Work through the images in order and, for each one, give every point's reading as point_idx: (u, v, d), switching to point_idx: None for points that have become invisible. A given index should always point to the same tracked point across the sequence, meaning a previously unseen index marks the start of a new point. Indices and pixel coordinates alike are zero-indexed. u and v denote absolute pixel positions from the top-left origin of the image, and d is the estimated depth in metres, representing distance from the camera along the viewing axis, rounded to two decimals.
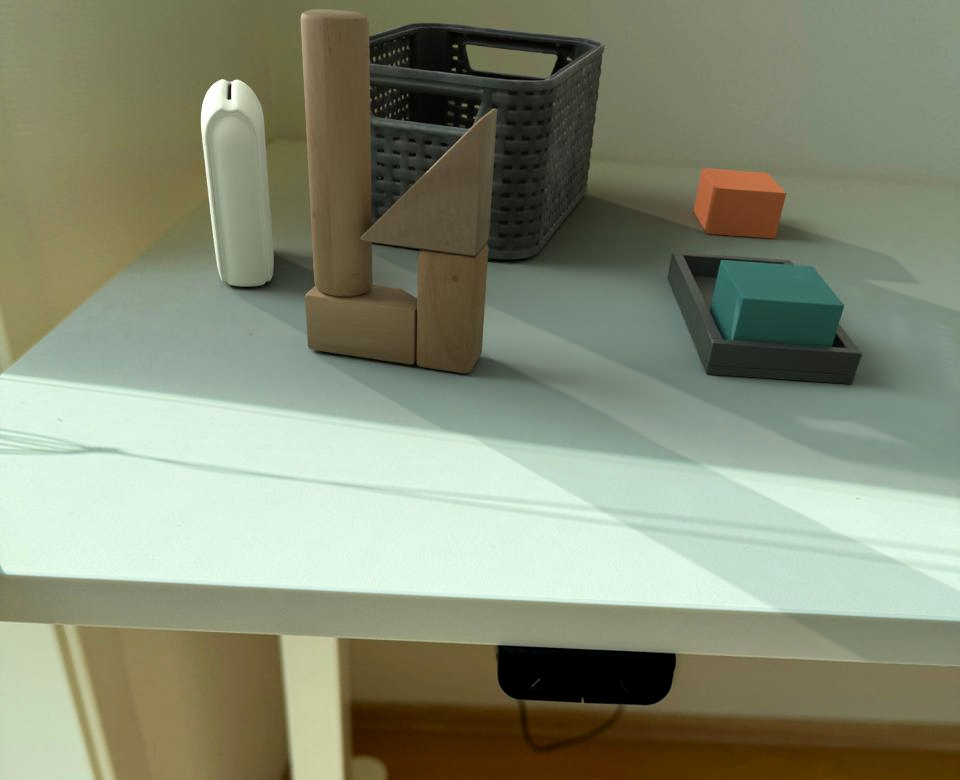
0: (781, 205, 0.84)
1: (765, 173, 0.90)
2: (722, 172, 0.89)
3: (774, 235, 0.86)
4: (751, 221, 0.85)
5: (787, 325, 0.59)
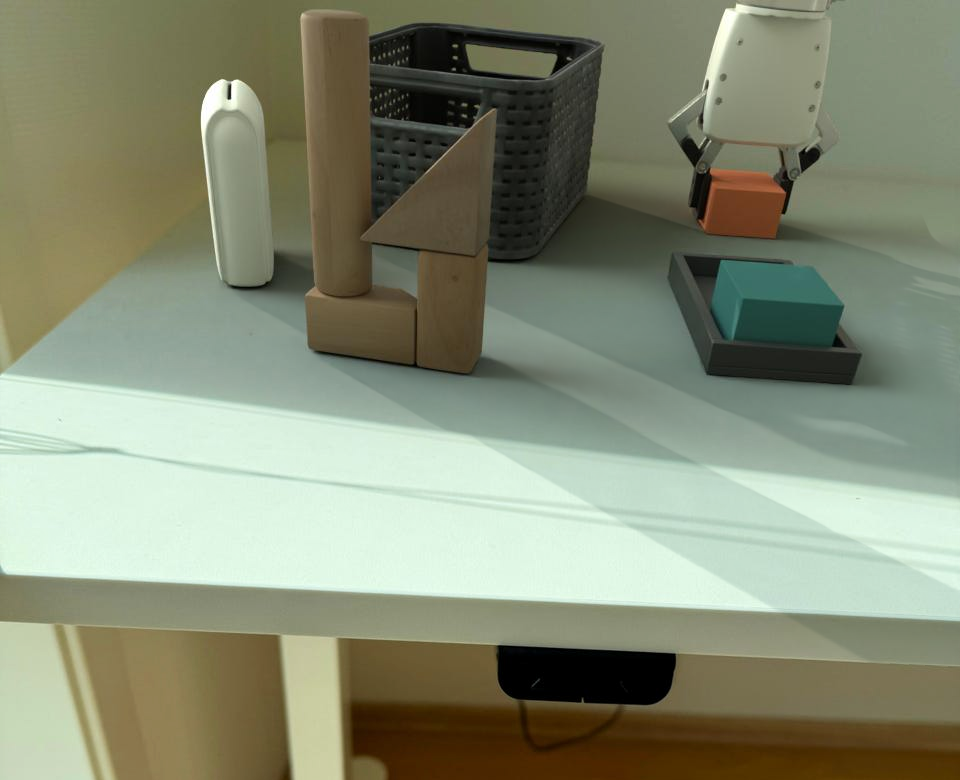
0: (781, 205, 0.84)
1: (765, 173, 0.90)
2: (722, 172, 0.89)
3: (774, 235, 0.86)
4: (751, 221, 0.85)
5: (787, 325, 0.59)
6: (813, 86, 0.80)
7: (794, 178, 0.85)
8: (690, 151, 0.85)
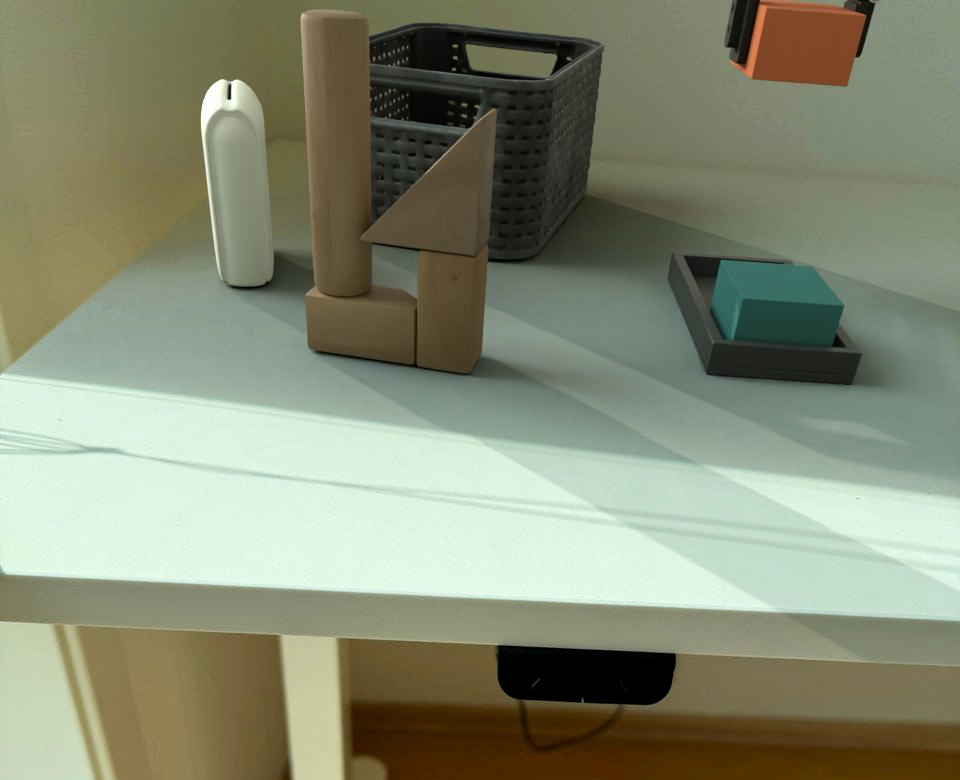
0: (858, 34, 0.60)
1: (831, 4, 0.65)
2: (772, 1, 0.64)
3: (846, 81, 0.61)
4: (815, 59, 0.61)
5: (787, 325, 0.59)
6: None
7: None
8: None
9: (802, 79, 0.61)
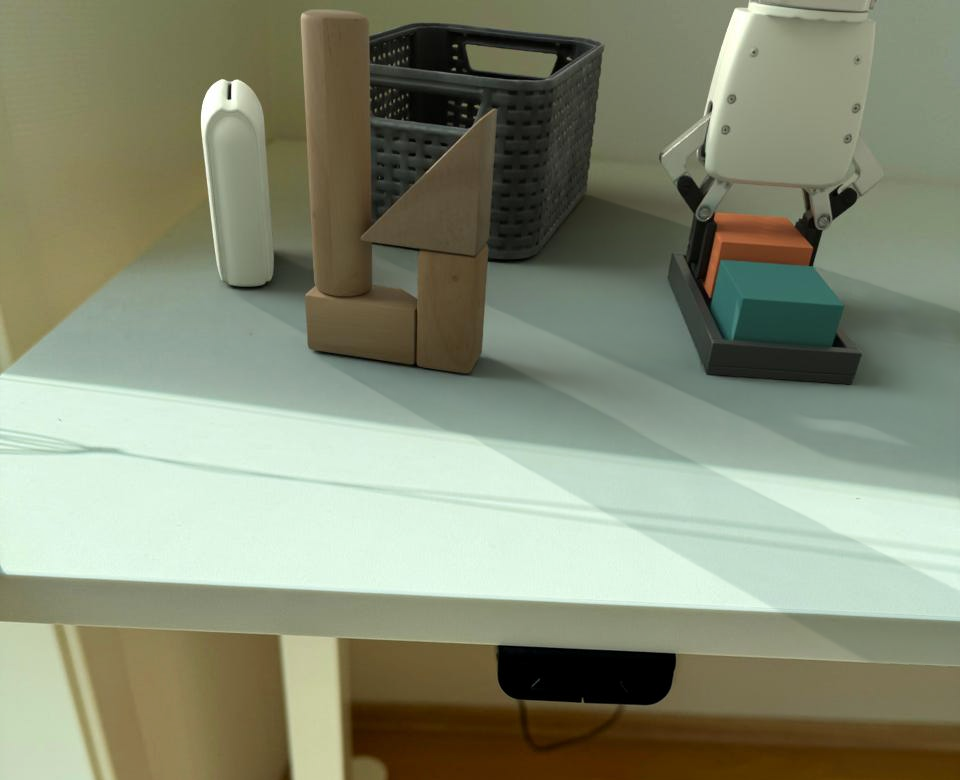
0: (806, 263, 0.65)
1: (784, 218, 0.70)
2: (729, 217, 0.69)
3: None
4: None
5: (787, 325, 0.59)
6: (850, 110, 0.61)
7: (823, 227, 0.66)
8: (688, 193, 0.65)
9: None
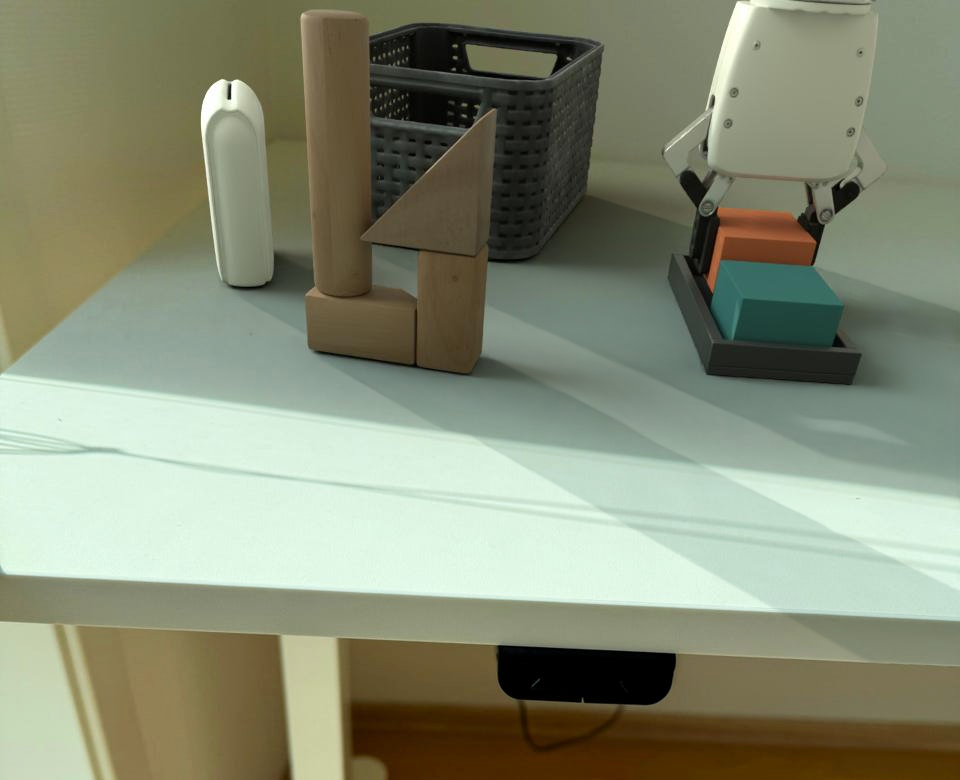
0: (810, 258, 0.65)
1: (787, 213, 0.70)
2: (732, 212, 0.69)
3: None
4: None
5: (787, 325, 0.59)
6: (853, 103, 0.60)
7: (825, 221, 0.66)
8: (691, 188, 0.65)
9: None
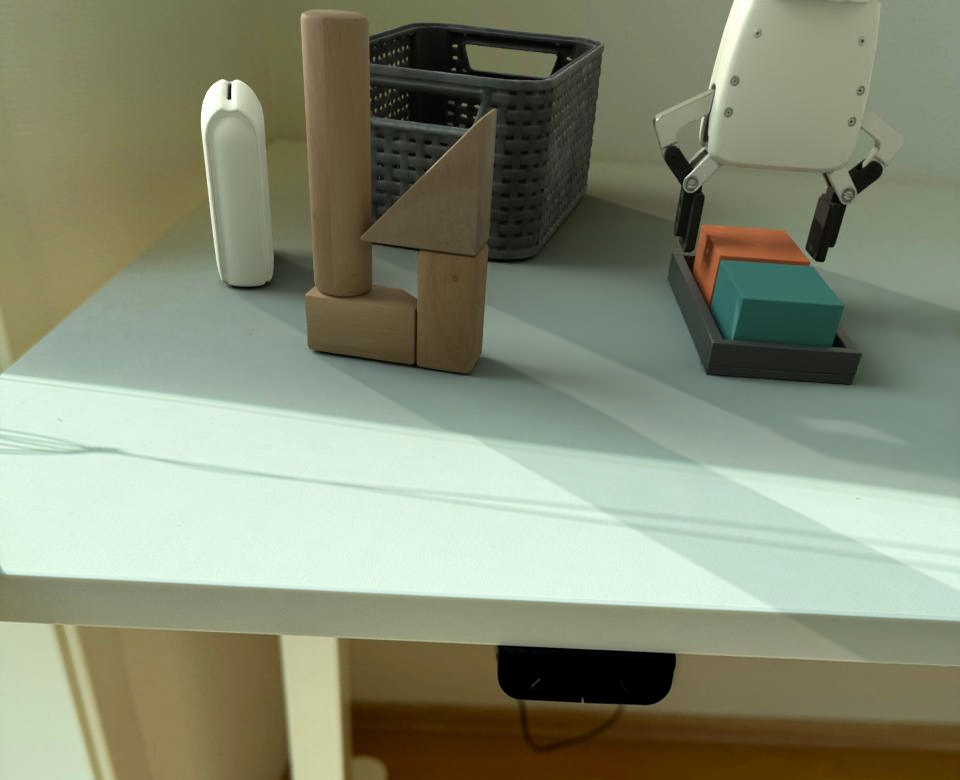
0: None
1: (782, 231, 0.71)
2: (727, 230, 0.70)
3: None
4: None
5: (787, 325, 0.59)
6: (855, 92, 0.60)
7: (847, 201, 0.65)
8: (675, 163, 0.64)
9: None
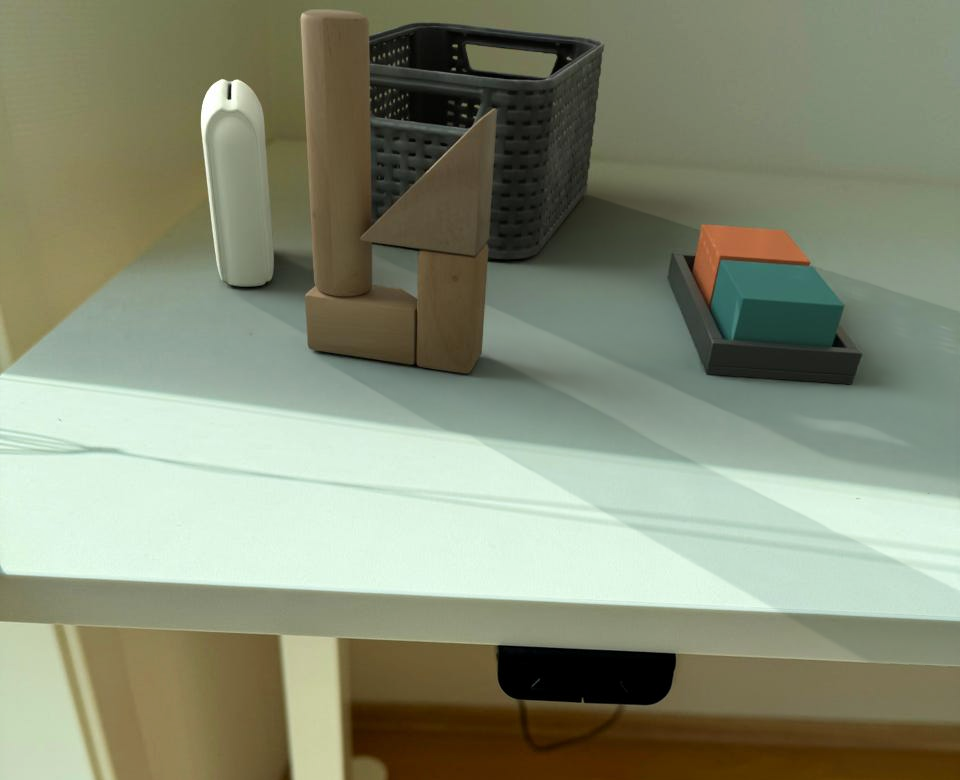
0: None
1: (782, 231, 0.71)
2: (727, 230, 0.70)
3: None
4: None
5: (787, 325, 0.59)
6: None
7: None
8: None
9: None
